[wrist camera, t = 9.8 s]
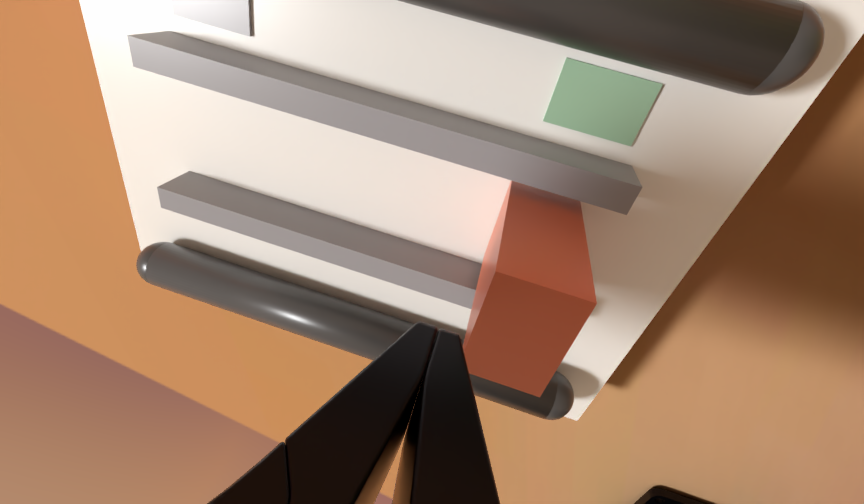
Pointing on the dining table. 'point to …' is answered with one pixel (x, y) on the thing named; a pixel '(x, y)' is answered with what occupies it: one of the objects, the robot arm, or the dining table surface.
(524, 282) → the knob
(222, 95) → the panel
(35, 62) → the dining table surface
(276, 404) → the dining table surface
